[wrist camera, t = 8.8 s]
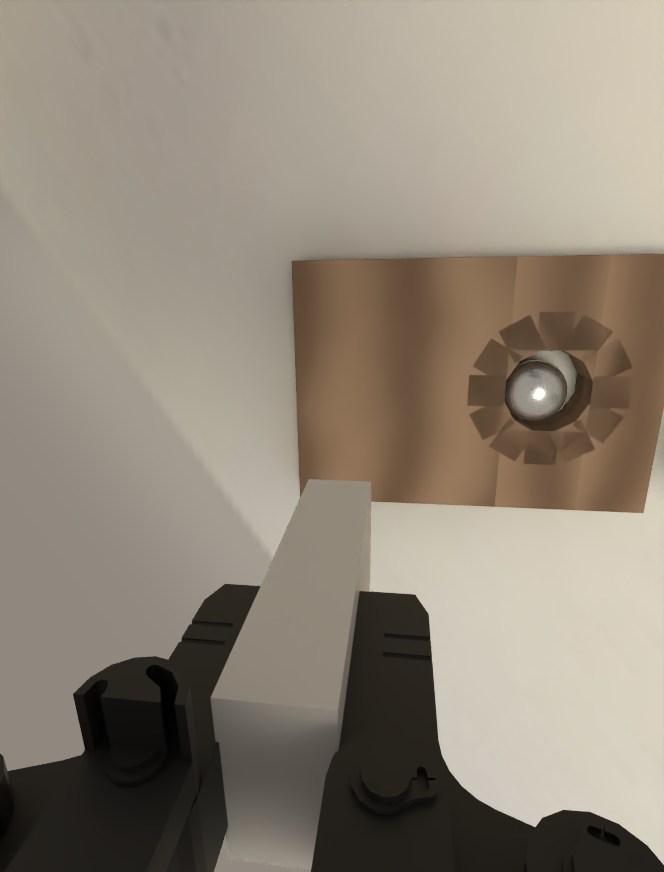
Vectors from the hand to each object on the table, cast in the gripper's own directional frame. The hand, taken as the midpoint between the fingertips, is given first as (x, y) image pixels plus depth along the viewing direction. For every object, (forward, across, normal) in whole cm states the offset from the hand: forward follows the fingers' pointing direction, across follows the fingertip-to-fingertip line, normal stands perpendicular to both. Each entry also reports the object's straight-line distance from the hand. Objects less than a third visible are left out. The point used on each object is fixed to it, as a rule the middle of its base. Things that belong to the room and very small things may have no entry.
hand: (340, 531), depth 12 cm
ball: (+18, +9, 0) cm, 20 cm away
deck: (+20, +5, 0) cm, 21 cm away
